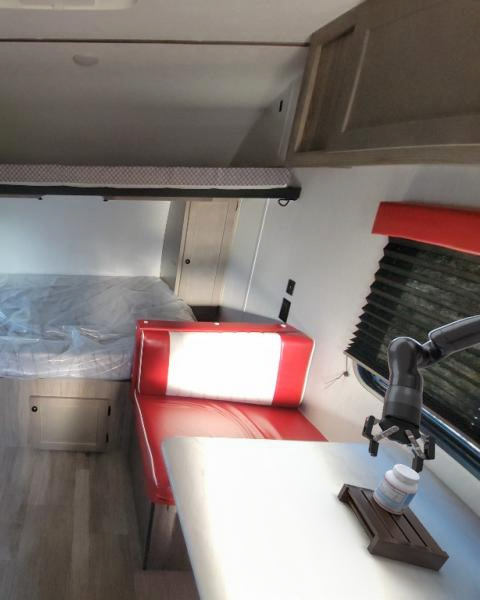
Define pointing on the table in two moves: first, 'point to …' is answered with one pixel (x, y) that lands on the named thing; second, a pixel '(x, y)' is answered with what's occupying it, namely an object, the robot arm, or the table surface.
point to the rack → (393, 531)
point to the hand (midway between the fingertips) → (393, 464)
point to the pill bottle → (397, 489)
